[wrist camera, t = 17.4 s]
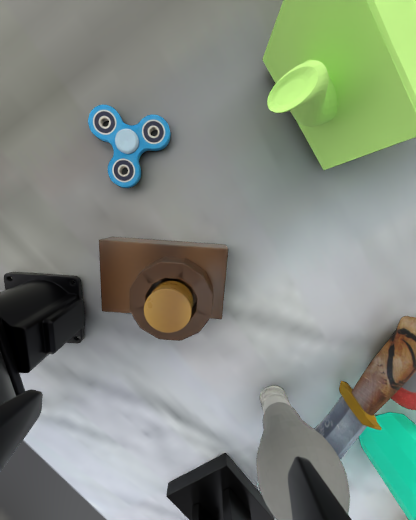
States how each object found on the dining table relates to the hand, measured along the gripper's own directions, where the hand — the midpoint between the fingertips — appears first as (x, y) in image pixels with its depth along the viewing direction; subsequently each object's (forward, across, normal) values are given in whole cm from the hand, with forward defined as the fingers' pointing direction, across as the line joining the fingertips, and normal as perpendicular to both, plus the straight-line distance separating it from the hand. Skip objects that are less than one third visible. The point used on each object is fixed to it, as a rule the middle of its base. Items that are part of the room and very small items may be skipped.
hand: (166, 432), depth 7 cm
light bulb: (+13, -10, +9) cm, 19 cm away
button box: (+12, +3, -1) cm, 13 cm away
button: (+9, +2, 0) cm, 9 cm away
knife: (+14, -15, +8) cm, 22 cm away
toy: (+11, +9, -11) cm, 18 cm away
